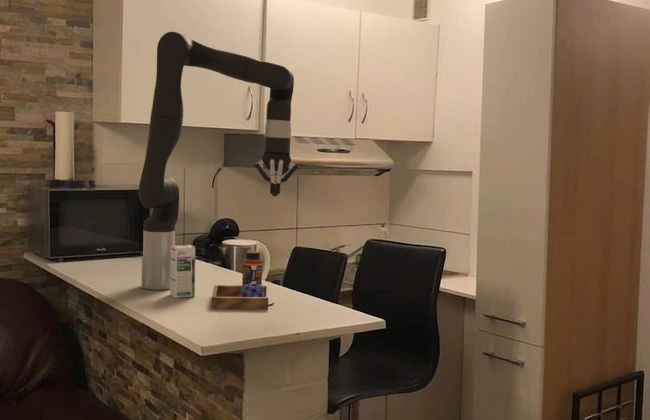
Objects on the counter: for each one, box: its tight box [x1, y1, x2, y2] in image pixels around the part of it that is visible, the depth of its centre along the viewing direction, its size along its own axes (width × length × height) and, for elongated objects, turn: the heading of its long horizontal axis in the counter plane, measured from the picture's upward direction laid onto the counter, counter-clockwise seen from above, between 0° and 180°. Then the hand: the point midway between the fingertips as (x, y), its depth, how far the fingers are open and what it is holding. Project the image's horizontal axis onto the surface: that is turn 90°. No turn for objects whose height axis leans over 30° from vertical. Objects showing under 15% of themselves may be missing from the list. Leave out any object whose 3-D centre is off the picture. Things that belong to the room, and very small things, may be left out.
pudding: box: [238, 284, 275, 306], centre depth 202 cm, size 12×12×5 cm
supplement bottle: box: [241, 250, 263, 286], centre depth 222 cm, size 6×6×11 cm
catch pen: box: [211, 284, 269, 310], centre depth 202 cm, size 15×17×3 cm
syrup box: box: [169, 244, 196, 299], centre depth 208 cm, size 6×6×14 cm
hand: (274, 196), depth 212 cm, fingers closed
